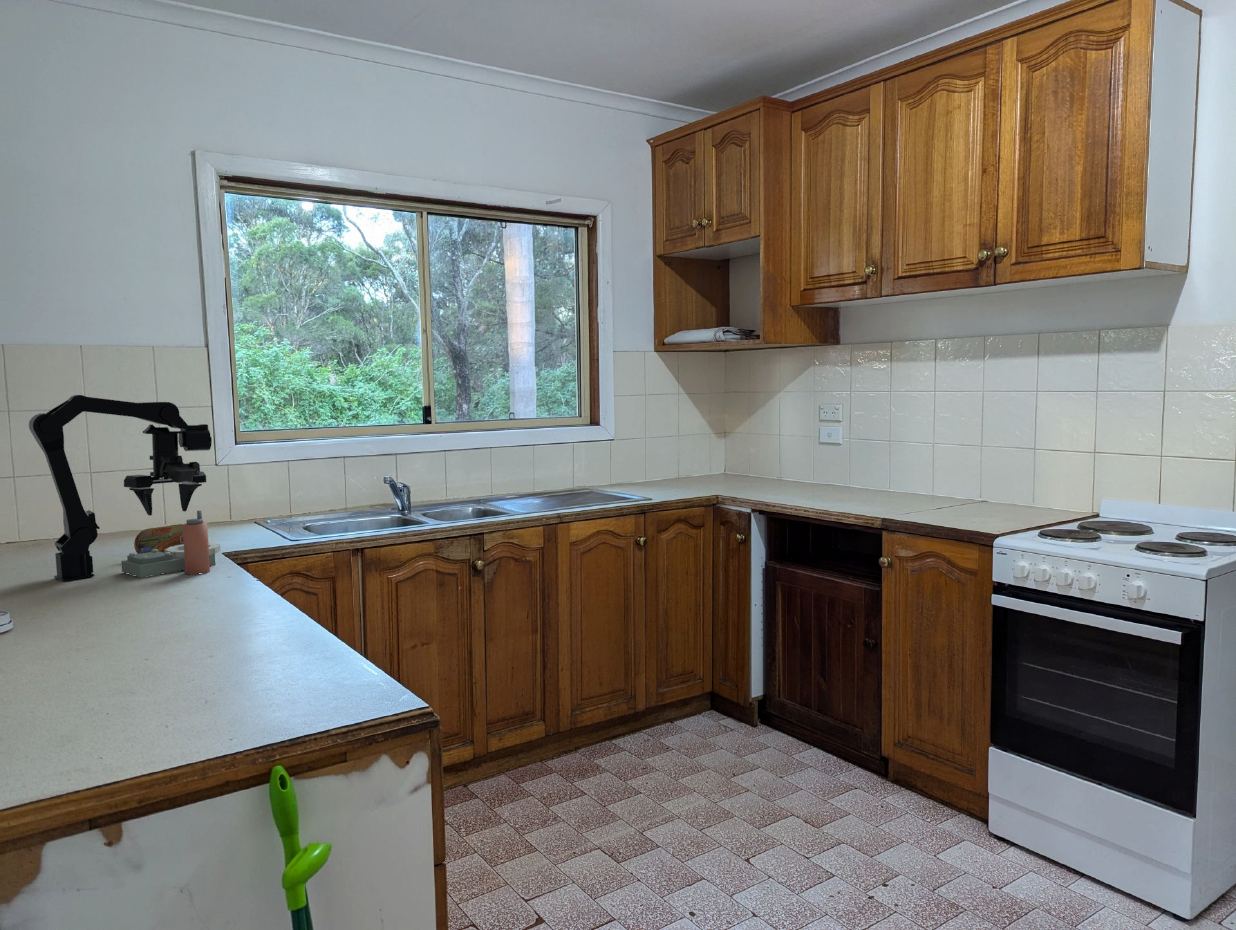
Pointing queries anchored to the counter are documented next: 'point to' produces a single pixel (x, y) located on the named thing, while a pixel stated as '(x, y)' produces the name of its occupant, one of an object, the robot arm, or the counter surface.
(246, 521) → the counter surface
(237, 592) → the counter surface
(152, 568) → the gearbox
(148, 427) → the robot arm
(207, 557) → the oil can
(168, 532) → the tin
